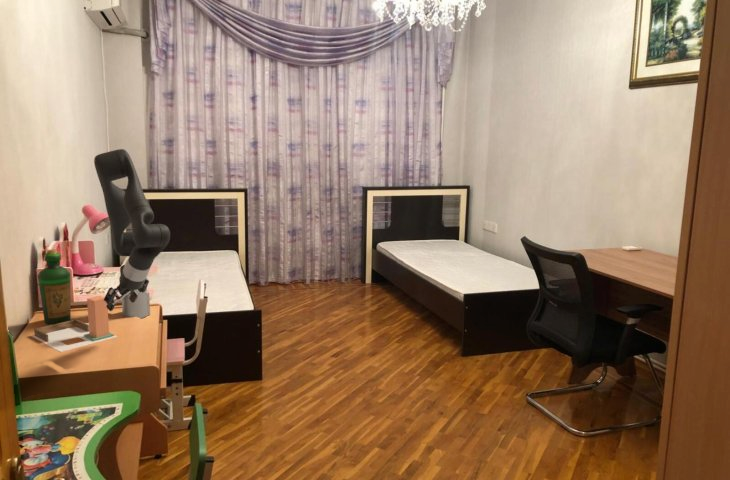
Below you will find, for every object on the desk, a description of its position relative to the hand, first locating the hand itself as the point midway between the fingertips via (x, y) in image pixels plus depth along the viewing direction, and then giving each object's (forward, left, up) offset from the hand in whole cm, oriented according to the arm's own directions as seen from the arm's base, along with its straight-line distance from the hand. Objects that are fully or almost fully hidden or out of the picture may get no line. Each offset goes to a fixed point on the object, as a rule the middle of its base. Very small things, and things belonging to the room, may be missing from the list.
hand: (120, 304), depth 189 cm
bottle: (+4, -38, -15) cm, 41 cm away
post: (+2, -11, -13) cm, 17 cm away
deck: (+8, -17, -14) cm, 24 cm away
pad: (+2, -11, -13) cm, 18 cm away
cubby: (+9, -22, -13) cm, 28 cm away
